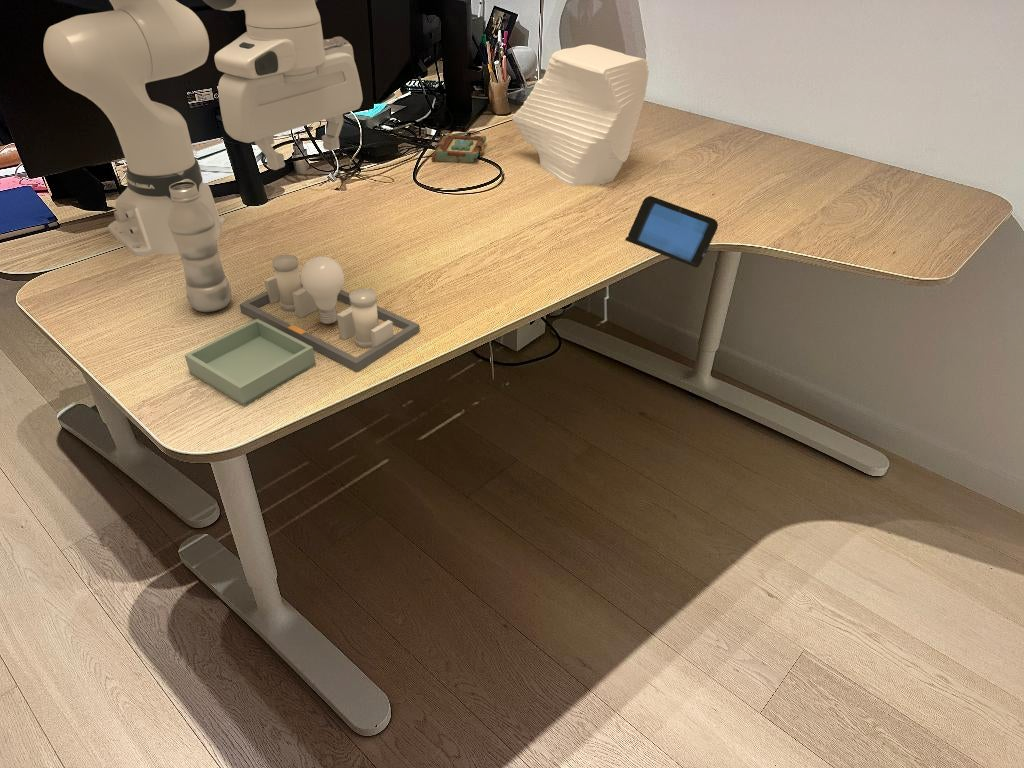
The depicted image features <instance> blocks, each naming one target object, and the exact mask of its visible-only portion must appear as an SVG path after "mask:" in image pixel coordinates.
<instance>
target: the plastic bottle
mask: <svg viewBox="0 0 1024 768" xmlns="http://www.w3.org/2000/svg"><path fill="white" fill-rule="evenodd" d="M169 191H170V194H171V196H170V197H171V200H172V201H173V202H174V204H173V206H172V208H171V211H170V213H169V216H168V225H169V228H170V231H171V233H172V235H173V238H174V240H175V242H176V245H177V247H178V250H179V253H178V254H179V256H180V259H181V263H182V268H183V273H184V278H185V279H184V280H185V294H186V298H187V301H188V302H189V305H190V306H191V307H192V308H193V309H194V310H195V311H197V312H200V313H212V312H217V311H220V310H222V309H224V308H226V307H227V306H228V305H229V304H230V301H231V299H232V287H231V285H230V282H229V280H228V278H227V276H226V274H225V271H224V267H223V265H222V261H221V258H220V252H219V247H218V246H219V245H218V240H217V239H216V225H215V217H214V215H213V213H212V211H211V210H210V209H209V208H208V207H207V206H206V205H205V204H204V203H203V202H201V201H200V200H199V199H198V198H199V197H200V195H199V192H198V190H197V186H196V184H195V183H194V182H192V181H181V182H176V183H173V184H171V185H170V186H169Z"/></svg>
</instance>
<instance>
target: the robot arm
mask: <svg viewBox="0 0 1024 768" xmlns="http://www.w3.org/2000/svg"><path fill="white" fill-rule="evenodd" d="M108 1H109V3H110V5H111V6H112V7H113V10H107V11H102V12H101V11H100V12H94V13H87V14H79V15H74V16H72V17H70V18H67V19H65V20H62V21H60V22H58V23H54V24H53V25H50V26H49V27H48V28H47V30H46V31H45V34H44V37H43V54H44V58H45V61H46V64H47V66H48V68H49V69H50V71H51V72H52V74H53V76H54V77H55V78H56V79H57V80H58V81H59V82H60V83H61V84H63V85H64V87H67V88H68V89H69V90H71V91H73V92H75V93H77V94H80V95H82V96H83V97H85V98H87V99H88V100H90V101H91V102H93V103H94V104H95V105H96V106H97V107H98V108H99V109H100V110H101V111H102V112H103V113H104V115H106V117H107V118H108V120H109V121H110V123H111V124H112V127H113V128H114V130H115V133H116V136H117V138H118V141H119V144H120V147H121V150H122V152H123V156H124V159H125V161H126V165H124V166H122V169H126V170H124V171H123V173H124V174H125V173H126V176H125V178H126V184H127V185H126V186H127V187H126V188H125V190H123V191H122V192H121V194H120V195H119V196H118V197H117V198H116V199H115V208H116V210H114V211H113V216H114V218H115V220H113V221H112V222H110V224H109V225H107V229H108V232H109V233H110V234H111V235H112V236H113V237H114V238H116V240H117V241H118V242H120V244H122V245H123V246H124V247H125V248H126V249H127V250H128V252H130V253H131V254H132V255H134V256H135V257H145V256H151V255H177V254H180V253H179V250H178V247H177V245H176V242H175V240H174V238H173V235H172V233H171V231H170V228H169V225H168V216H169V213H170V211H171V208H172V206H173V204H174V202H173V201H172V200H171V197H170V196H171V194H170V191H169V186H170V185H171V184H173V183H176V182H181V181H192V182H194V183H195V184H196V186H197V190H198V192H199V195H200V197H199V198H198V199H199V200H200V201H201V202H203V203H204V204H205V205H206V206H207V207H208V208H209V209H210V210H211V211H212V213H213V215H214V217H215V225H216V240H217V239H218V238H219V237H220V235H221V233H222V226H223V225H224V224H225V222H226V218H225V217H223V216H220V215H219V212H218V208H217V206H216V203H215V200H214V196H213V193H212V191H211V187H210V186H209V185H208V184H206V183H205V182H203V175H202V170H201V167H200V163H199V160H197V158H196V157H195V154H194V149H193V146H192V141H191V137H190V132H189V129H188V124H187V122H186V120H185V118H184V117H183V116H182V114H181V113H180V112H179V111H178V110H177V109H174V108H173V107H171V106H169V105H166V104H164V103H161V102H160V103H159V102H157V101H153V100H151V98H150V97H149V94H148V92H147V89H146V84H148V83H151V82H156V81H160V80H161V81H162V80H165V79H170V78H174V77H179V76H182V75H184V74H187V73H189V72H192V71H193V70H195V69H197V68H199V67H201V66H203V65H204V64H205V63H206V62H207V60H208V56H209V52H210V40H209V35H208V31H207V29H206V27H205V25H204V23H203V21H202V20H201V19H200V17H199V16H198V15H197V14H196V13H195V12H194V11H193V10H192V9H190V7H187V6H186V5H183V4H182V3H180V2H179V1H177V0H108ZM202 1H203V2H204V3H205V4H206V5H208V6H209V7H211V8H212V9H214V10H216V11H217V10H219V11H227V12H233V11H242V10H243V11H244V14H245V26H246V31H245V32H244V33H242V34H241V35H240V36H238V37H237V38H236V39H235V40H233V41H232V42H230V43H229V44H227V45H225V46H224V47H223V48H221V49H220V50H218V51H217V52H216V53H215V54H214V63H215V67H216V69H217V70H218V71H219V72H222V73H224V74H222V76H221V77H220V79H219V81H218V87H217V89H218V90H217V91H218V102H219V107H220V114H221V119H222V124H223V128H224V131H225V132H226V134H227V135H228V136H229V137H230V138H231V139H234V140H236V141H239V142H242V143H245V144H246V143H247V144H250V143H253V142H254V144H255V145H256V146H257V147H258V149H259V150H261V152H262V153H263V154H264V155H265V158H266V160H265V161H266V164H267V166H268V168H269V169H271V170H273V171H277V170H279V169H283V168H285V166H286V163H285V155H284V154H283V153H280V152H278V151H276V150H275V148H273V146H272V145H274V144H275V137H274V136H275V135H276V136H277V135H279V134H282V133H285V132H288V131H292V130H295V129H298V128H301V127H305V126H308V125H312V124H314V123H318V122H321V121H324V120H325V121H326V122H328V123H327V127H326V133H325V134H324V135H322V136H321V140H322V142H323V143H322V147H323V149H324V150H326V151H329V152H331V151H334V150H337V149H340V138H339V137H340V135H341V131H342V127H343V125H344V114H347V113H350V112H353V111H356V110H359V109H360V108H361V106H362V103H363V99H364V98H363V90H362V86H361V80H360V76H359V72H358V68H357V67H358V66H357V65H356V62H355V55H354V49H353V46H352V44H351V43H350V42H349V40H346V39H345V38H344V37H342V36H334V37H332V38H328V39H327V38H326V39H325V38H324V35H323V34H324V33H323V28H322V27H323V26H322V22H321V21H322V20H321V15H320V12H319V9H318V8H317V5H316V3H317V2H318V1H319V0H202Z"/></svg>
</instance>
